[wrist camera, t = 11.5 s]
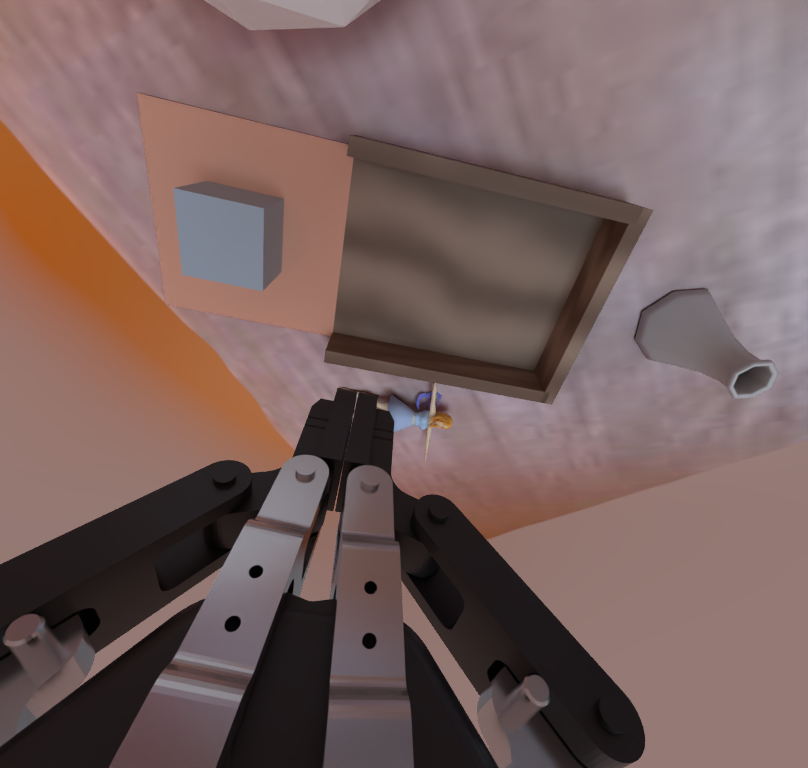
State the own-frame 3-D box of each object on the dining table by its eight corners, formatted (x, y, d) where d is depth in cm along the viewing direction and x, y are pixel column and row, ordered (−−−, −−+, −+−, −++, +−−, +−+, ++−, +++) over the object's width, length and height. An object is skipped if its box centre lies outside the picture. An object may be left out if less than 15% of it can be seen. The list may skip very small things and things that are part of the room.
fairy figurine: (332, 372, 36) (460, 388, 35) (345, 348, 40) (460, 363, 39) (335, 461, 42) (444, 477, 41) (346, 433, 46) (446, 447, 45)
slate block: (206, 180, 30) (173, 188, 26) (284, 198, 30) (263, 208, 26) (211, 257, 33) (182, 274, 29) (281, 272, 34) (263, 291, 29)
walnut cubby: (356, 135, 28) (349, 134, 25) (626, 201, 30) (653, 210, 27) (331, 342, 37) (324, 362, 34) (539, 381, 40) (551, 404, 36)
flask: (637, 367, 39) (700, 431, 30) (629, 305, 35) (698, 358, 27) (715, 342, 37) (805, 402, 29) (716, 274, 33) (818, 320, 25)
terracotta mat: (138, 93, 27) (136, 92, 27) (355, 146, 29) (354, 146, 28) (167, 303, 36) (165, 304, 35) (332, 335, 37) (332, 336, 37)
